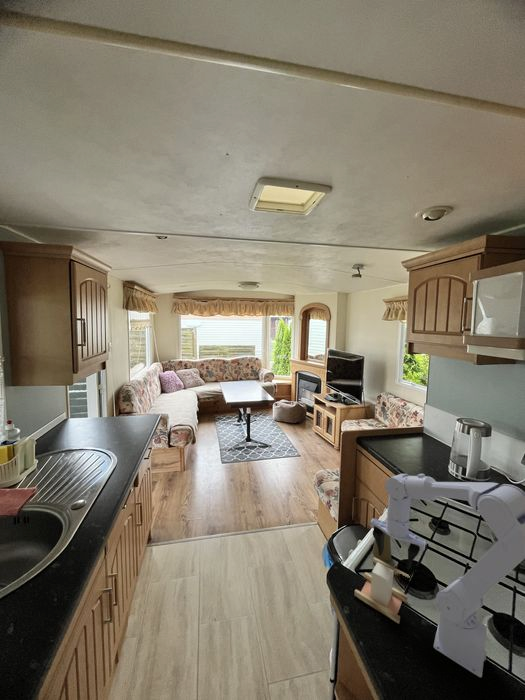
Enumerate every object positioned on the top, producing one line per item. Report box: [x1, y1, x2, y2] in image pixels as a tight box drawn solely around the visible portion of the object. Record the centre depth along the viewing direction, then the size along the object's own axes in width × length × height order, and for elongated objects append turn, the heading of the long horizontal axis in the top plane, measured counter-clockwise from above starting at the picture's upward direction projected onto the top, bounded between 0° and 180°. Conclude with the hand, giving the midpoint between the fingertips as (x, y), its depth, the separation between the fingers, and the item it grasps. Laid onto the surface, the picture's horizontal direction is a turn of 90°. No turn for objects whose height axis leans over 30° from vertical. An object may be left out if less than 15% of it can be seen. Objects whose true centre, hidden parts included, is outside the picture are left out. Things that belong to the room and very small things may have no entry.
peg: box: [370, 562, 394, 608], centre depth 84 cm, size 4×4×8 cm
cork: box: [372, 533, 392, 563], centre depth 100 cm, size 6×6×11 cm
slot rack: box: [353, 556, 411, 625], centre depth 87 cm, size 12×16×2 cm
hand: (394, 560), depth 86 cm, fingers open, 7 cm apart
